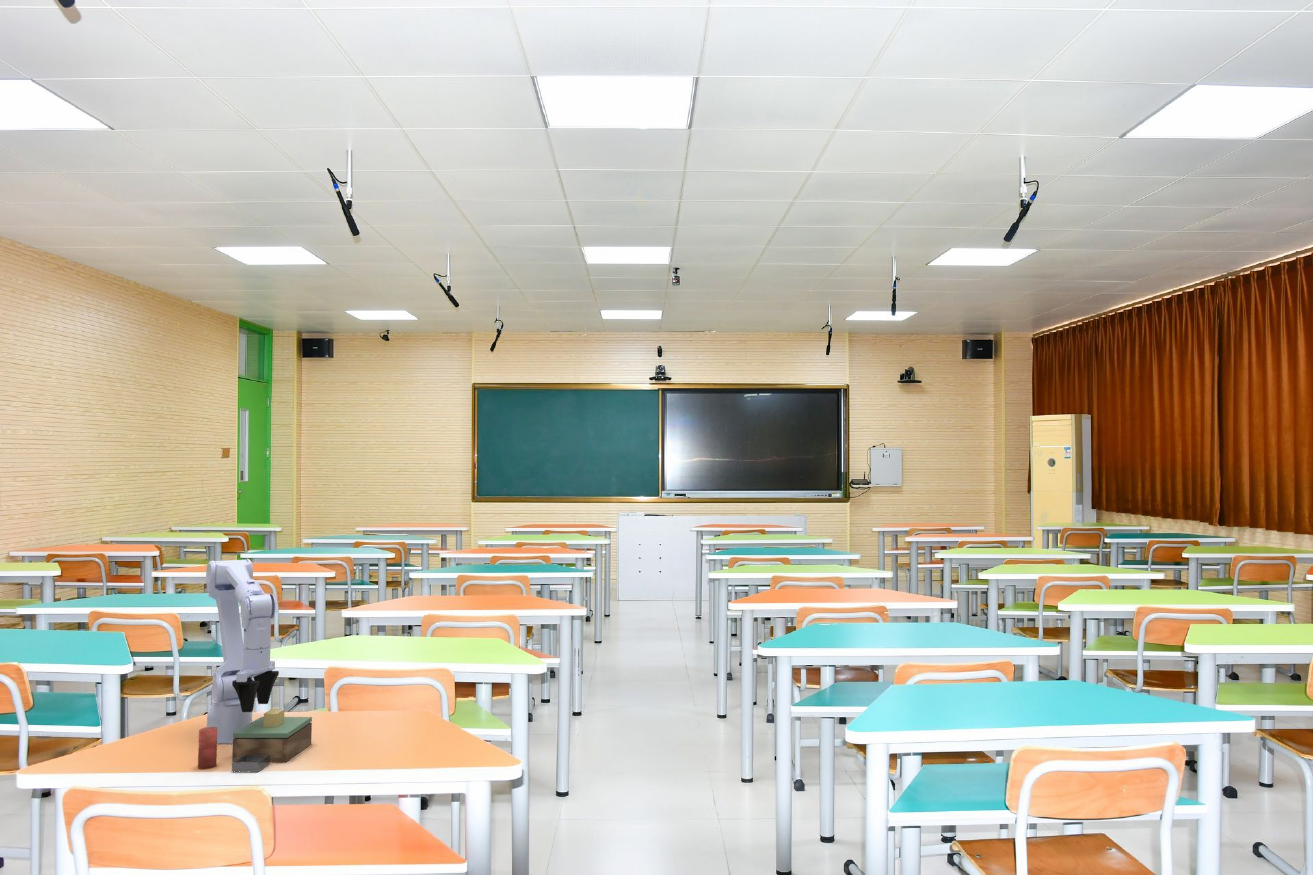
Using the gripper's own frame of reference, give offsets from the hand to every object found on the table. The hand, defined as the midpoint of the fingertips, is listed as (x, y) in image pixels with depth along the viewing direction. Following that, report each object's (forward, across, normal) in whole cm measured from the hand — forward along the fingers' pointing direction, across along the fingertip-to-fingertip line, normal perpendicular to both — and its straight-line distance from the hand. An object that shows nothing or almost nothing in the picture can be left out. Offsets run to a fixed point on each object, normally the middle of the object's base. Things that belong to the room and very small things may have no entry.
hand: (255, 707), depth 201 cm
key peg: (+10, -9, +6) cm, 15 cm away
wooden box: (+10, +1, -4) cm, 11 cm away
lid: (+5, +1, -4) cm, 7 cm away
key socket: (+10, -10, -4) cm, 15 cm away
